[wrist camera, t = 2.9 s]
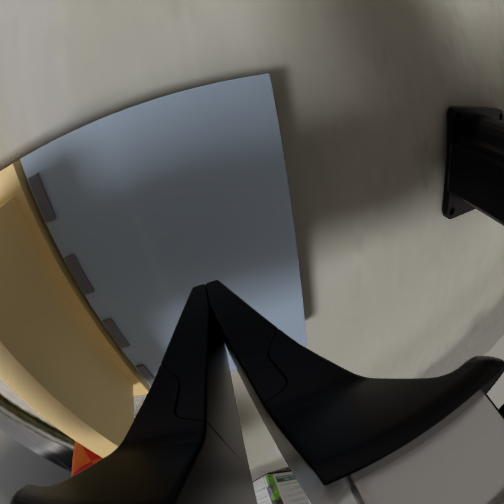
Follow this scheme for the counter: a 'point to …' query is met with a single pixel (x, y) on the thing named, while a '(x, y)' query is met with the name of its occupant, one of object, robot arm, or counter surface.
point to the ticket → (174, 211)
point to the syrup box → (279, 489)
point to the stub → (57, 332)
